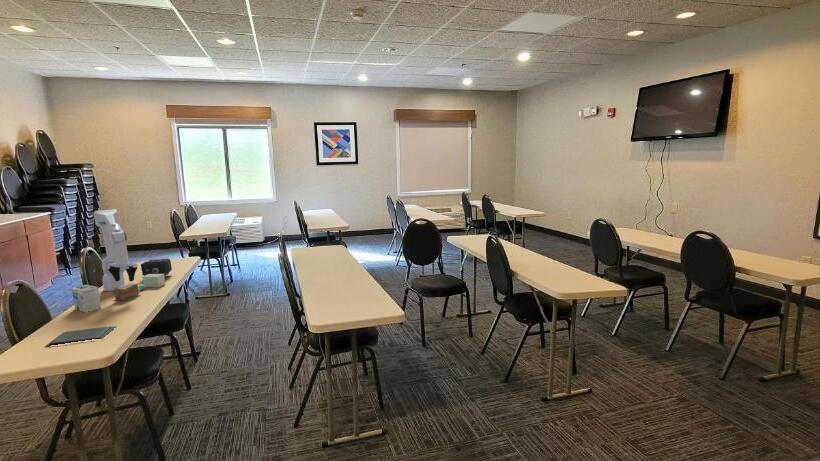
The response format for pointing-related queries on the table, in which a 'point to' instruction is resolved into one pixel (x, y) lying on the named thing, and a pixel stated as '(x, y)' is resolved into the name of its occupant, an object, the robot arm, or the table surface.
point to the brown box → (126, 291)
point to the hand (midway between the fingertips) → (124, 280)
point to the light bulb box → (86, 298)
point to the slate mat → (128, 299)
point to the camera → (156, 267)
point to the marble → (141, 287)
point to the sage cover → (153, 280)
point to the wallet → (81, 335)
